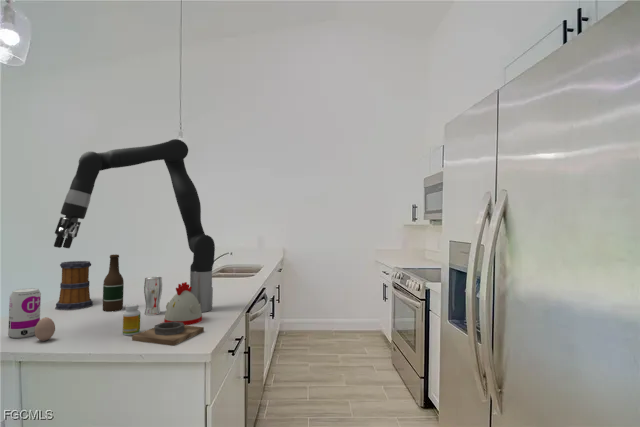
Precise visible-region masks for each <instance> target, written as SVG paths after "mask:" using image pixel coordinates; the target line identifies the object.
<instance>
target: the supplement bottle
mask: <svg viewBox="0 0 640 427" xmlns="http://www.w3.org/2000/svg"><path fill="white" fill-rule="evenodd" d="M138 333H141V311H140V310H139V304H138V303H131V304H130V303H129V304H126V305H125V311H124V312H123V313H122V335H123V336H133V335H135V334H138Z"/></svg>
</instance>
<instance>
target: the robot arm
mask: <svg viewBox="0 0 640 427" xmlns="http://www.w3.org/2000/svg"><path fill="white" fill-rule="evenodd" d="M188 153H189V146H188V145H187V143H186V142H185V141H183V140H181V139H178V138H176V139H175V138H173V139H170V140H168V141H165V142H161V143H157V144H151V145H145V146H136V147H135V146H134V147H126V148H125V147H124V148H117V149H111V150H107V151H104V152H95V151H86V152H84V153H83V154H82V155H81V156H80V157H79V159H78V166H77V168H76V172H75V175H74V177H73V179H72V180H71V184H70V187H69V189H68V192H67V193H66V196H65V199H64V200H63V205H62V207H61V210H60V214H61V215H64V217H63V216H60V218H59V220H58V223H57V226H56V228H55V230H54V231H55V232H54V234H56V235H55V236H56V238H55V240H54V242H53V243H54V244H53V247H54V248H59V249H60V248H64V249H70V248H71V246H72V243H73V240H74V239H75V238H77V236H78V233H79V229H80V226H81V224H82V223H81V221H79V219H80V220H84V219H85V217H86V215H87V212H88V209H89V205H90V202H91V197H92V194H93V191H94V189H95V188H94V187H95V183H96V180H97V179H98V175H99V174H100V172H101V171H105V170H110V169H118V168H125V167H133V166H137V165H141V164H142V165H143V164H145V163H149V162H156V161H164V163H165V166H166V169H167V171H168V174H169V176H170V181H171V185H172V188H173V189H172V190H173V191H174V196H175V197H174V198H175V200H176V203H177V205H178V210H179V212H180V217H181V219H182V223H183V225H184V227H185V232H186V238H187V244H188V249H189V250H190V251H191V252H192V253H193V260H192V263H191V264H190V267H189V268H190V269H189V270H190V271H189V287H192V288H191V293H192V294H193V295H194V296H195V297H196V298H197V300H198V302H199V304H201V312H202V313H205V312H210V311H211V310H213V297H214V296H213V292H214V291H213V290H214V288H213V267H214V264H215V250H216V246H215V240H214V239H213V237H212V236H210V235H207V234H205V230H204V228H203V224H202V221H201V220H202V218H201V217H202V216H201V215H202V211H201V210H202V207H201V201H200V197H199V194H198V193H199V192H198V190H197V187H196V185H195V184H194V182H193V181H192V179H191V178H190V176H189V174H188V172H187V169H186V165H185V158H186V157H187V156H188Z"/></svg>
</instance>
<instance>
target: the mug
mask: <svg viewBox="0 0 640 427" xmlns="http://www.w3.org/2000/svg"><path fill="white" fill-rule="evenodd" d="M91 266H92V262H91V261H90V260H72V261H63V262H61V263H60V264H59V267H60V268H61V282H60V287H59V288H60V292H59V298H58V301H57V302H56V304H55V308H54V310H57V311H76V310H78V311H79V310H85V309H87V308H92V307H93V306H94V302H93V301H92V298H91V295H90V279H89V274H90V267H91Z"/></svg>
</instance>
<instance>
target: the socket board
mask: <svg viewBox="0 0 640 427" xmlns="http://www.w3.org/2000/svg"><path fill="white" fill-rule="evenodd" d="M204 329H205V328H204V326H194V325H184V324H183V322H165V323H164V322H160V323H158V324H156V325H154V327H152V328H149V329H147V330H144V331H142V332H141V331H140V333H138V334H135V335H131V341H133V342H142V343H149V344H150V343H152V344H156V345H157V344H158V345H166V346H176V345H178V344H181V343H182V342H185V341H186V340H189V339H191V338H193V337H195V336H198V335H199V334H202V333H204V331H205V330H204Z"/></svg>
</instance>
